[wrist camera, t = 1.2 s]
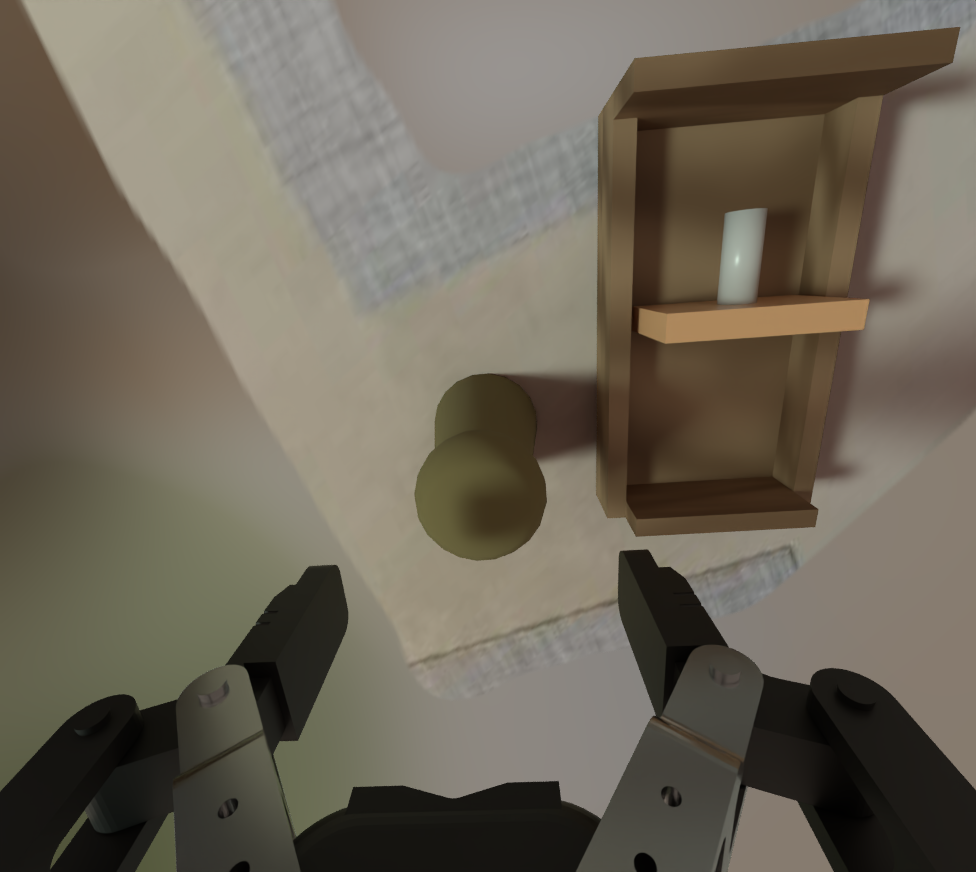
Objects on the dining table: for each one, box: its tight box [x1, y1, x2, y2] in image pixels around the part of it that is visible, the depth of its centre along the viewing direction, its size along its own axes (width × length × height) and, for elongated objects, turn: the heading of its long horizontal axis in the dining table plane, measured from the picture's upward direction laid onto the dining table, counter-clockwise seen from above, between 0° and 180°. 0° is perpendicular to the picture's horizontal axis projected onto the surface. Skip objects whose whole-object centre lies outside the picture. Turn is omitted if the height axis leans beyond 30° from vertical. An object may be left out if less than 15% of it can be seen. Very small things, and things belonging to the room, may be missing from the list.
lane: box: [596, 27, 960, 537], centre depth 22 cm, size 20×11×6 cm, turn 4°
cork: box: [415, 374, 547, 561], centre depth 22 cm, size 6×6×11 cm
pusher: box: [631, 208, 870, 344], centre depth 20 cm, size 5×8×5 cm, turn 94°
